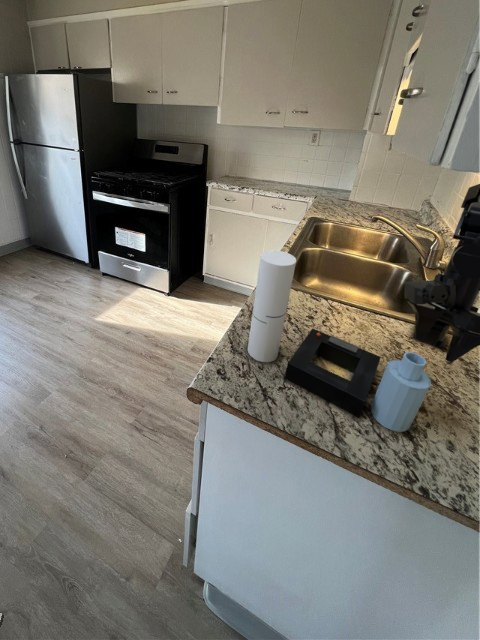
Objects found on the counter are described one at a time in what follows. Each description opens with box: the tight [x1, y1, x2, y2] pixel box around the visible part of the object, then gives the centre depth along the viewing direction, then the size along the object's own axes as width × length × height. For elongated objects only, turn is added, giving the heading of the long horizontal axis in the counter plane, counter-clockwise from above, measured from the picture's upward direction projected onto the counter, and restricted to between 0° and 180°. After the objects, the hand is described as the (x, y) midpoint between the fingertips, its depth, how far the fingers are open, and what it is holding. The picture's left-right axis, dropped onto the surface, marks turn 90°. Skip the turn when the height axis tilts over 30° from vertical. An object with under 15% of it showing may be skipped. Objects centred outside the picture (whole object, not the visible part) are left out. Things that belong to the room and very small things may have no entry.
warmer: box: [284, 327, 381, 419], centre depth 68 cm, size 15×15×5 cm
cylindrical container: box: [247, 250, 297, 363], centre depth 70 cm, size 7×7×25 cm
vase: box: [370, 351, 432, 433], centre depth 57 cm, size 7×7×14 cm
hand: (432, 349), depth 61 cm, fingers open, 9 cm apart
